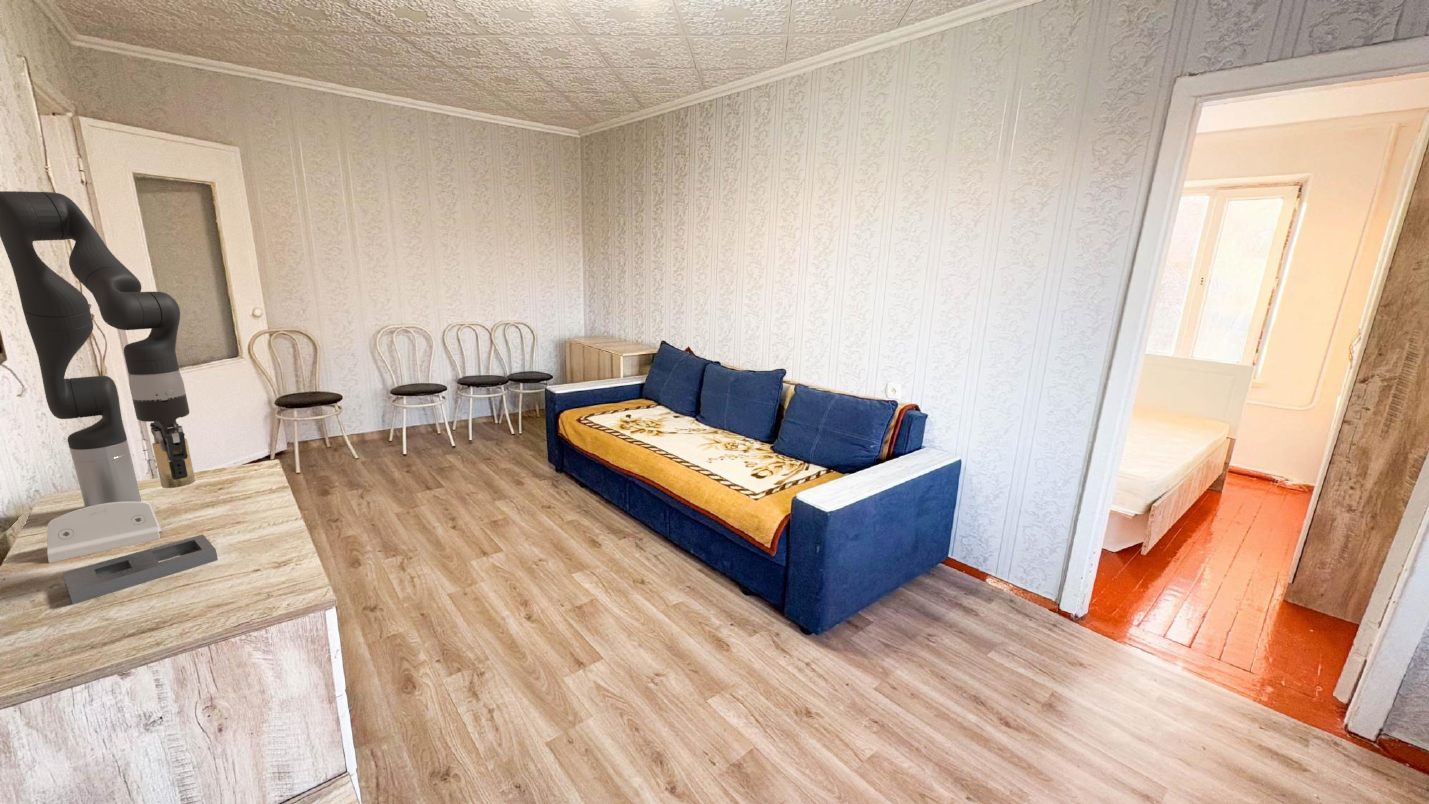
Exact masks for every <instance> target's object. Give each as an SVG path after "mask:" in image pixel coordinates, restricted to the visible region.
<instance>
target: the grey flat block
mask: <svg viewBox="0 0 1429 804" xmlns="http://www.w3.org/2000/svg"><path fill="white" fill-rule="evenodd" d="M217 554H218V552H217V549H216V547H215V546H214V545H213V544H212V543H211V542H210V541H209V539H207V537H206V536H205V535H204V534H199V535H195V536H193V537H189V538H184V539H181V540H177V541H174V542H169V543H165V544H162V545H158V546H155V547H152V548H148V549H144V550H140V551H137V552H133V553H129V554H126V555H121V556H119V557H115V558H111V559H107V560H103V561H100V562H96V563H93V564H88V565H85V566H82V567H77V568H73V569H71V570H67V571H63V572H62V576H63V579H64V583H65V586H66V589H67V593H68V595H69V598H70V601H71V603H72V605H75V604H79V603H81V602H85V601H88V600H91V599H94V598H98V597H101V596H105V595H108V594H111V593H114V592H117V591H121V590H124V589H128V588H130V587H134V586H136V585H137V586H138V585H139V584H144V583H147V582H150V581H153V580H156V579H161V578H164V577H167V576H170V575H174V574H176V573H180V572H183V571H187V570H190V569H194V568H196V567H199V566H203V565H206V564H209V563H212V562H216V561H218V560H219V558H218V555H217Z"/></svg>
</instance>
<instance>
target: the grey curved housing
mask: <svg viewBox="0 0 1429 804" xmlns="http://www.w3.org/2000/svg"><path fill="white" fill-rule="evenodd" d="M160 532H163V530H162V527H161V524H160V522H159V519H158V517H157V515H156V512H155V509H154V506H153V505H152V504H151V503H150V502H147V501H142V502H132V501H131V502H113V503H105V504H99V505H94V506H89V507H85V506H84V507H83V508H79V509H78V508H77V509H75V510H73V511H70V512H66V513H65V514H62V515H59V516H57V517H55V518H52V519H51V520H49V521H48V523H47V542H46V544H47V546H46V548H47V549H46V550H47V554H46V556H47V560H48V563H55V562H59V561H64V560H67V559H72V558H76V557H77V558H78V557H81V556H86V555H90V554H97V553H101V552H105V551H109V550H113V549H117V548H122V547H123V548H124V547H127V546H131V545H132V546H133V545H138V544H141V543H146V542H151V541H155V540H159V539H160V538H161V537H160V536H161V535H160Z"/></svg>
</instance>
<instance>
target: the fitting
mask: <svg viewBox="0 0 1429 804" xmlns="http://www.w3.org/2000/svg"><path fill="white" fill-rule="evenodd" d="M185 444H186V451H187V455H188V457H187V459H185V465H186V470H187V474H188V476H187V477H186V478H182V479H177V480H175V479H173V478H172V475H171V471H170V466H169V462H168V461H167V456H166V453H165V452H163V451H161V448H160V444H159V442H153V443H152V444H151V445H152V450H153V453H154V454H153V455H154V458H155V462H156V467H157V471H158V475H159V480H160V486H161V488H162V489H174V488H180V487H185V486H189V485H191V484H194V483H195V482H196V477H195V472H194V468H193V462H192V458H191V453H190V448H189V444H188V439H187V438H185ZM164 445H165V444H164ZM165 446H167V445H165ZM175 454H180V452H179V450H175V451H173V455H175Z"/></svg>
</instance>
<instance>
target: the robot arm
mask: <svg viewBox="0 0 1429 804" xmlns="http://www.w3.org/2000/svg"><path fill="white" fill-rule="evenodd" d="M0 240H1V243H2V245H3V247H4V250H5V252H6V255H7V257H8V260H9V263H10V265H11V269H12V272H13V275H14V279H15V283H16V287H17V289H18V290H17V291H18V295H19V299H20V303H21V308H22V311H23V314H24V315H23V316H24V318H25V322H26V325H27V328H28V330H29V331H28V332H29V335H30V336H31V339H32V342H33V346H34V348H35V351H36V354H37V358H38V363H39V368H40V373H41V379H42V383H43V389H44V394H45V399H46V402H47V406H48V408H49V411H50V413H51V414H52V415H53V417H55V418H57V419H60V420H72V419H79V418H80V419H82V418H89V417H96V416H97V417H98V416H101V418H100V419H99V420H98V421H97V422H95V423H94V424H91V425H89V426H87V427H85V428H82V429H79V430H77V431H75V432H72V433H70V435H68V436H67V444H68V447H69V450H70V451H69V452H70V455H71V459H72V462H73V467H74V471H75V474H76V477H77V482H78V485H79V489H80V493H81V497H82V501H83V504H84V508H85V507H89V506H94V505H99V504H105V503H113V502H131V501H132V502H143V501H142V498H141V497H142V496H141V493H140V489H139V485H138V481H137V477H136V475H137V474H136V472H135V471H136V470H135V466H134V463H133V459H132V455H131V450H130V446H129V442H128V437H127V434H126V431H125V426H124V421H123V418H122V417H123V416H122V412H121V411H122V410H121V406H120V405H121V404H120V397H119V391H118V387H117V384H116V383H115V381H114V380H113V379H112V377H110V376H108V375H95V376H93V375H92V376H81V377H71V378H65V375H66V372H67V369H68V367H69V365H70V363H71V361H72V359H73V358H74V357H75V355H76V354H77V353H78V352H79V351H80V349H81V348H82V347H83V346H84V345H85V344H86V342H87V341H88V339H89V338H90V336H91V335H92V332H93V330H94V321H93V318H92V314H91V309H90V308H91V307H90V304H89V302H88V299H87V297H86V296H85V295H84V294H83V293H82V292H81V291H80V290H79V289H78V288H76V287H75V286H74V285H72V283H70V282H69V281H67V280H66V279H65V278H63V277H62V276H60V275H59V274H58V273H57V272H55V271H54V270H53V269H52V268H51V267H49V266H48V265H47V264H46V263H45V262H44V261H43V260H42V259H41V258H40V256H39V255H38V253H37V252H36V250H35V247H34V244H33V242H38V241H41V242H42V241H43V242H44V241H66V240H72V241H75V243H74V246H73V248H72V249H71V253H70V255H69V257H68V258H69V259H68V264H69V268H70V271H71V273H72V274H73V276H74V277H75V278H76V279H77V281H79V283H81V284H82V285H83V286H84V287H85V288H86V290H87V291H89V292H90V293H91V294H92V296H93V298H94V300H95V301H96V304H97V306H98V309H99V312H100V316H101V318H102V320H103V321H104V322H105V324H107V325H108V326H110V327H113V328H114V329H117V330H121V331H135V330H149V329H151V330H150V333H149V335H148V336H147V337H146V338H144V339H141V340H138V341H134V342H130V343H128V344H126V345H125V346H124V347H123V354H124V355H123V357H124V359H125V364H126V368H127V372H128V373H127V374H128V384H129V390H130V394H131V395H130V396H131V398H132V399H131V400H132V404H133V408H134V413H135V417H136V419H137V420H138V421H139V422H147V423H150V424H149V427H150V432H151V434H152V436H153V440H154V442H153V443H155V442H159V444H160V448H161V451H163V452H165V453H166V456H167V461H168V462H169V466H170V471H171V475H172V478H173V479H175V480H177V479H182V478H186V477H187V476H188V474H187V470H186V465H185V459H187V457H188V455H187V451H186V444H185V439H186V438H185V436H186V435H185V433H184V429H183V427H182V425H180V424H179V423H178V422H177V419H179V418H184V417H187V416H188V415H189V414H190V408H189V403H188V398H187V393H186V388H185V382H184V380H183V377H182V375H181V372H180V368H179V362H178V358H177V354H176V346H177V345H176V344H177V338H178V337H177V336H178V330H179V326H180V325H179V324H180V320H181V309H180V305H179V304H178V302H177V300H176V299H175V298H174V297H173V296H171V294H168V293H166V292H163V291H142V284H141V282H140V280H139V278H138V277H137V276H136V275H135V274H133V272H132V271H130V270H129V269H128V268H127V267H126V266H125V265H124V264H123V263H122V262H121V261H120V260H119V259H118V258H117V257H116V256H115V255H114V254H113V253H112V251H111V250H110V249H109V247H108V246H107V245H106V243H105V241H104V240H103V239H102V238H101V236H100V235H99V233H98V231H97V230H96V228H95V227H94V226H93V225H92V223H91V222H90V220H89V219H88V218H87V216H86V215H85V213H84V212H83V211H82V209H80V207H79V206H78V205H77V204H76V203H75V202H74V201H73V200H72V199H71V198H69V197H68V196H67V195H65V194H62V193H59V192H51V191H22V190H21V191H19V190H18V191H17V190H14V191H11V190H9V191H5V190H4V191H3V190H1V191H0ZM164 444H165V445H167V446H165V445H164ZM175 450H179V452H180V454H175V455H173V451H175Z"/></svg>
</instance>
